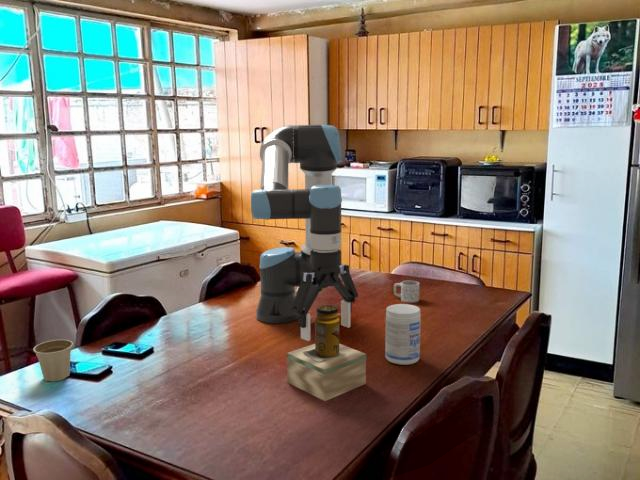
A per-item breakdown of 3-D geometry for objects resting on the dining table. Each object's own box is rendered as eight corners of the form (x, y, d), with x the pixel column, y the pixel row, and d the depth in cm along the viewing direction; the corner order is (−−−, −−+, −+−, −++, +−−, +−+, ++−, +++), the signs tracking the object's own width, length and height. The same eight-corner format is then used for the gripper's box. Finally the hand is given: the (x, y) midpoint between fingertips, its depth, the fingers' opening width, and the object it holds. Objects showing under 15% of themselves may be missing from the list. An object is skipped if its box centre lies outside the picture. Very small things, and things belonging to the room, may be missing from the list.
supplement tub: (416, 367, 159) (418, 315, 156) (381, 363, 161) (382, 312, 159) (421, 354, 168) (423, 304, 165) (388, 351, 170) (389, 302, 168)
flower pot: (51, 388, 148) (47, 355, 146) (29, 379, 153) (25, 348, 151) (83, 374, 156) (80, 343, 154) (61, 367, 161) (58, 337, 159)
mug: (421, 299, 220) (422, 282, 219) (414, 303, 215) (415, 286, 214) (397, 295, 226) (397, 278, 224) (389, 299, 220) (390, 282, 219)
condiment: (346, 355, 147) (346, 308, 145) (318, 362, 142) (317, 315, 140) (329, 346, 153) (329, 301, 150) (302, 353, 148) (301, 307, 146)
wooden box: (287, 382, 150) (286, 352, 148) (327, 367, 159) (327, 339, 158) (324, 401, 140) (324, 369, 138) (366, 383, 149) (366, 353, 148)
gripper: (296, 260, 132) (297, 349, 136) (372, 244, 148) (371, 324, 153) (275, 254, 137) (277, 341, 142) (351, 239, 154) (350, 317, 158)
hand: (326, 332), depth 147 cm, fingers open, 13 cm apart
